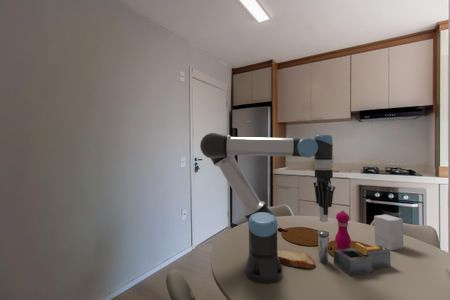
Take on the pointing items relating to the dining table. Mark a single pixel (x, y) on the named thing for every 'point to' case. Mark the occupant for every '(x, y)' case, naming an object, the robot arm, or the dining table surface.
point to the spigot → (323, 245)
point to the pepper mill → (342, 231)
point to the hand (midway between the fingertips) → (323, 221)
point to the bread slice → (296, 259)
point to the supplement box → (388, 232)
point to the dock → (361, 260)
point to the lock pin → (365, 248)
